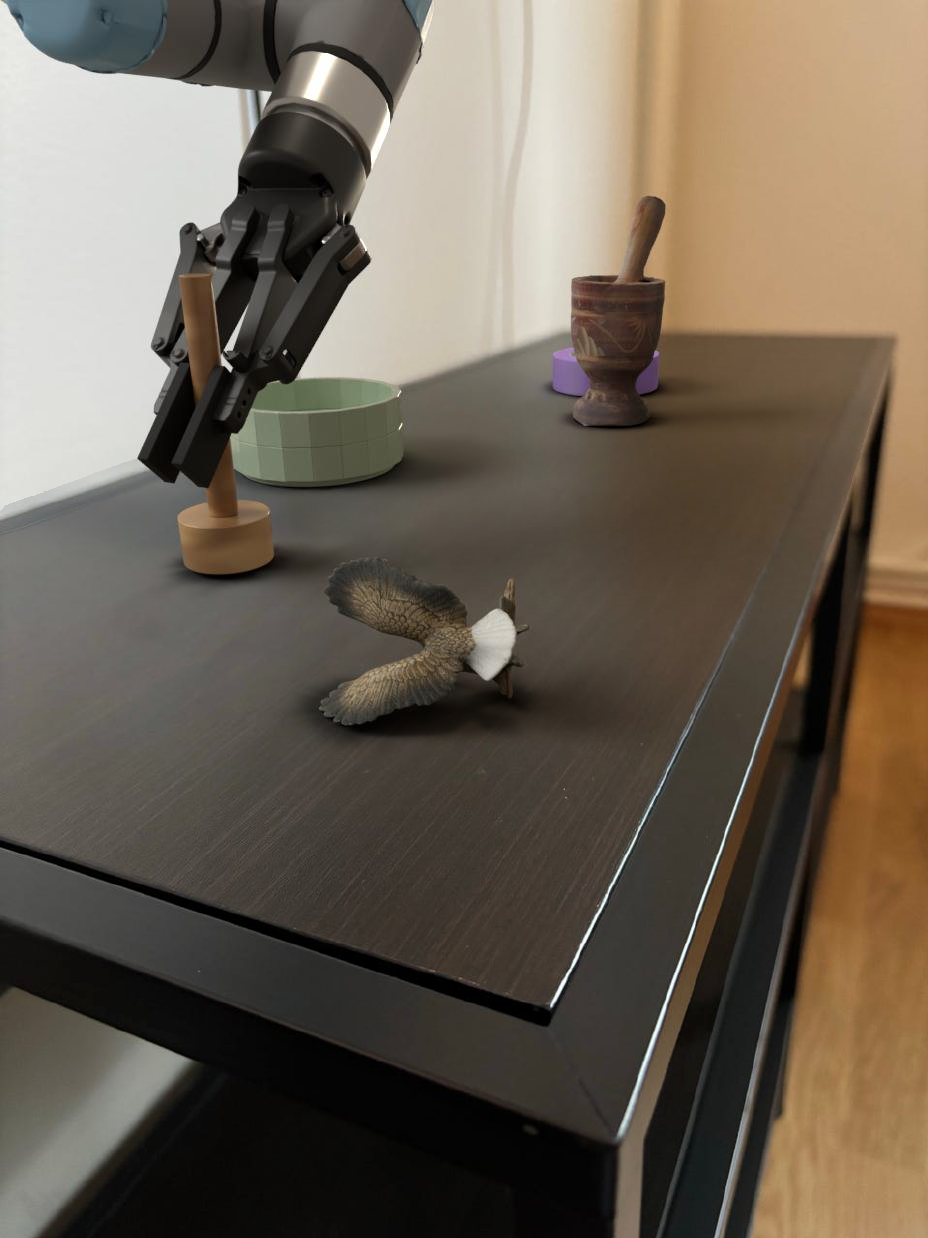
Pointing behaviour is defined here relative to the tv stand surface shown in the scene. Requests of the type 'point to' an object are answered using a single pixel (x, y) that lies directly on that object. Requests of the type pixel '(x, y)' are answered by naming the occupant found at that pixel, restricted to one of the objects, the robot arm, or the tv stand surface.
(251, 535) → the wooden peg stand
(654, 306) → the mortar and pestle
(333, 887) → the tv stand surface
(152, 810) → the tv stand surface
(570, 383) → the tape roll
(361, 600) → the eagle figurine
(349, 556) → the tv stand surface
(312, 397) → the bowl
